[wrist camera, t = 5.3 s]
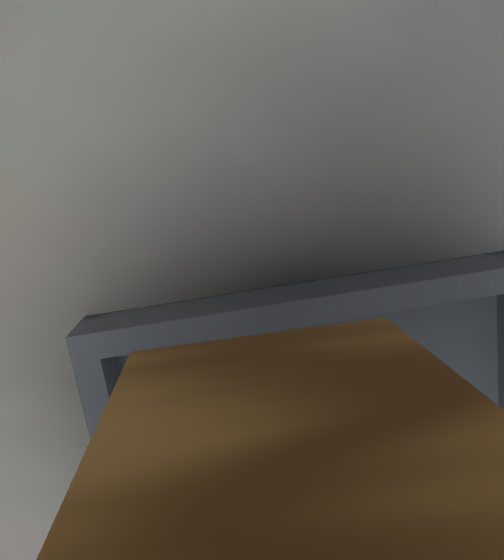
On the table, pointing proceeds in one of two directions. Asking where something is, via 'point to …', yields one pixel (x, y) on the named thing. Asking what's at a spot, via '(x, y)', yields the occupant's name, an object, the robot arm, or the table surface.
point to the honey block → (289, 454)
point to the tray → (316, 321)
